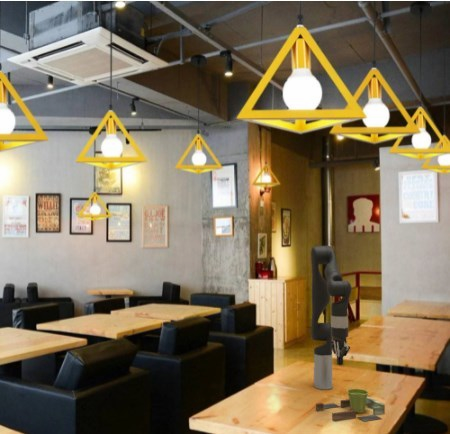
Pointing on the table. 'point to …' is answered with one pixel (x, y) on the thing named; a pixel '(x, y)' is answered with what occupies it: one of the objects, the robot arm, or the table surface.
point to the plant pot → (357, 399)
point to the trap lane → (371, 403)
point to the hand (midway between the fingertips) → (340, 364)
